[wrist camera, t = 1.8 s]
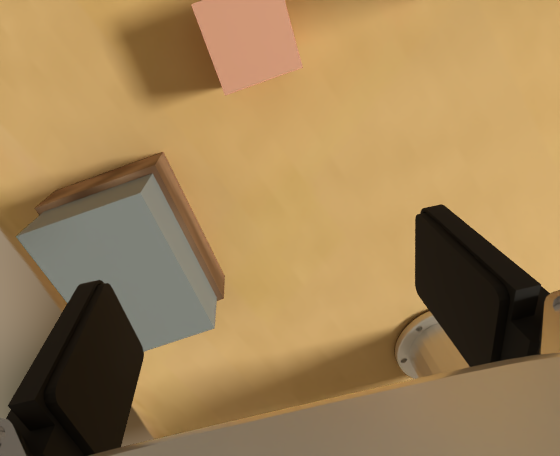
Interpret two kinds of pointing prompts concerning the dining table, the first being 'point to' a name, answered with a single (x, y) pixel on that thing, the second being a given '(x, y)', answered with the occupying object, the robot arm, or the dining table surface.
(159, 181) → the walnut base block
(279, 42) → the terracotta block
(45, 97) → the dining table surface
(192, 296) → the slate top block
